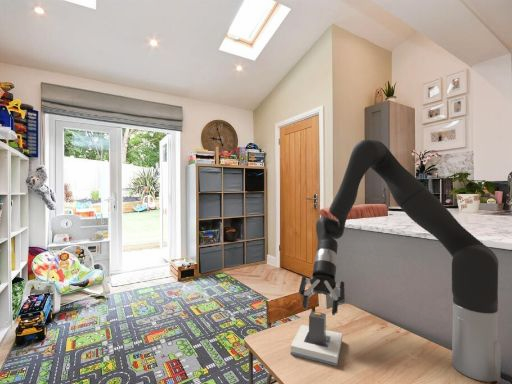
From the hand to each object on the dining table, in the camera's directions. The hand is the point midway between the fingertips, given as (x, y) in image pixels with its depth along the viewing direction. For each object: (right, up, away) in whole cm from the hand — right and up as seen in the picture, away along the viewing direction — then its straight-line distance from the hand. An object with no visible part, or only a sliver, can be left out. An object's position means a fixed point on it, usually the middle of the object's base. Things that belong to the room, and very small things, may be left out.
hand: (319, 311), depth 83 cm
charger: (-1, -9, -2) cm, 9 cm away
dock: (-1, -10, -2) cm, 10 cm away
